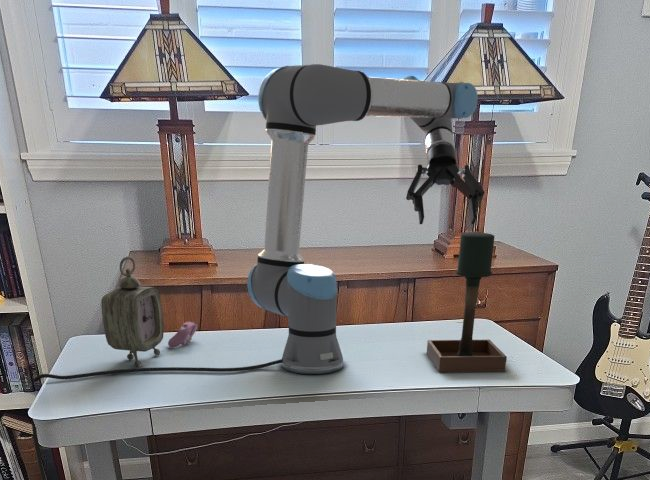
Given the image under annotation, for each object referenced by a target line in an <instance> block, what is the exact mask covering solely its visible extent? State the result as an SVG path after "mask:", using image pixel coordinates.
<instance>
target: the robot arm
mask: <svg viewBox="0 0 650 480" xmlns="http://www.w3.org/2000/svg"><path fill="white" fill-rule="evenodd" d="M478 99H479V97H478V90H477V89H476V87H475V85H474V84H472V83H470V82H463V81H460V82H445V81H444V82H443V81H431V80H421V79H418V78H417V76H414V75H408V76H405V77H404V78H389V77H375V76H373V77H372V76H368V75H367V74H366V73H365V72H364V71H361V70H352V69H348V68H347V69H346V68H342V67H336V66H333V65H327V64H321V63H313V64H312V63H311V64H299V65H298V64H295V65H284V66H281V67H276V68H274V69H272V70H271V71H269V72H268V73H267V74H266V75H265V77H264V78H263V79H262V81H261V83H260V86H259V89H258V95H257V102H258V108H259V111H260V112H261V114H262V117H263V118H264V120H265V132H266V133H267V135H268V137H269V138H270V140H271V143H270V144H271V145H270V146H271V147H270V158H269V159H270V160H269V174H268V188H267V204H266V216H265V217H266V220H265V233H264V246H263V247H264V248H263V249H262V250H261V251H260V252H259V253H257V262H256V263H255V264H254V265H253V266H252V269H250V271H249V273H248V277H247V283H246V284H247V291H248V295H249V297H250V299H251V300H252V302H253V303H254V304H255V305H256V306H258V307H259V308H261V309H263V310H265V311H267V312H269V313H273V314H274V313H275V314H277V315H280V316H283V317H285V318H286V317H287V318H288V319H287V320H288V336H287V339H286V343H285V346H284V350H283V353H282V356H281V359H277V360H273V361H272V360H271V361H270V362H266V363H262V364H256V365H249V366H248V365H247V366H239V367H188V366H187V367H185V366H183V367H181V366H180V367H179V366H172V367H171V366H169V367H168V366H165V367H160V366H159V367H158V366H157V367H135V368H123V369H112V370H111V369H110V370H102V371H101V370H100V371H93V372H86V373H78V374H70V375H57V374H52V373H42V374H38V375H36V376H35V377H34V378H33V380H32V381H31V383H37V382H38V381H39V380H41V379H43V378H47V379H55V380H74V379H83V378H88V377H89V378H90V377H96V376H106V375H114V374H125V373H127V374H128V373H140V372H143V373H144V372H216V373H217V372H219V373H220V372H221V373H223V372H225V373H226V372H242V371H243V372H244V371H253V370H258V369H263V368H267V367H271V366H275V365H278V364H281V367H282V368H283V369H285V370H286V371H289V372H292V373H295V374H303V375H324V374H331V373H334V372H337V371H340V370H341V369H342V368H343V366H344V357H343V354H342V350H341V347H340V343H339V340H338V336H337V311H338V310H337V309H338V282H337V275H336V273H335V272H334V271H332V269H330V268H328V267H325V266H322V265H319V264H312V263H305V258H303V256H302V255H301V253H300V243H301V233H302V232H301V231H302V221H303V219H302V218H303V209H304V197H305V186H306V173H307V162H308V150H309V145H310V143H312V141H313V140H315V138H316V135H317V126H325V125H331V124H337V123H343V122H359V121H362V120H363V119H365V118H366V117H385V118H386V117H388V118H389V117H391V118H393V117H394V118H395V117H396V118H410V119H411V120H412V121H413V122H414V123H415V124H416V126H417V127H419V129H420V130H421V131H422V132H423V135H424V142H425V155H426V166H427V167H423V164H418V165H417V166H416V167H417V168H416V171H415V176H414V178H413V180H412V181H411V184H410V185H409V187H408V189H407V191H406V197H405V200H407V201H412V204H413V210H414V212H418V213H417V214H418V223H419V225H423V224H424V219H425V209H424V200H423V197H424V195H425V194H426V193H427V192H428V190H430V188H432V187H433V186H434V185H436V186H442V185H443V186H449V185H450V186H451V187H453V188H455V189H456V190H458V191H459V192H460V193H461V194H462V195H463V196H464V197H466V198H467V199H468V200H469V201H468V209H469V217H470V225H475V223H476V221H477V217H478V215H477V212H478V210H479V208H480V204H479V201H482V200H483V198H484V195H485V194H486V193H485V191H484V189H483V187H482V186H481V185H480V183H479V182H478V181H477V179H476V178H475V177H474V174H472V172H471V170H470V166H469V165H468V164H465V165H464V167H458V165H457V157H456V148H455V140H454V133H453V122H452V121H453V120H452V119H456V120H458V119H459V120H460V119H467V118H470V117H471V116H472V115H473V114H474V112H475V111H476V109H477V105H478ZM425 174H426V175H427V176H428V177H427V179H426V180H424V182H423V183H422V184H421V185H420V187H419V188H418V189H417V187H418V185H419V183H420V181H421V178H423V177H424V176H425ZM34 421H35V420H34ZM34 421H33V420H32V421H31V428H32V436H33V442H34V443H33V444H34V448H35V453H36V454H35V455H36V458H37V462H38V467H39V471H40V475H41V480H47V477H46V473H45V468H44V465H43V460H42V455H41V451H40V445H39V438H38V433H37V432H38V431H37V426H36V427H35V424H34Z"/></svg>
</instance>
